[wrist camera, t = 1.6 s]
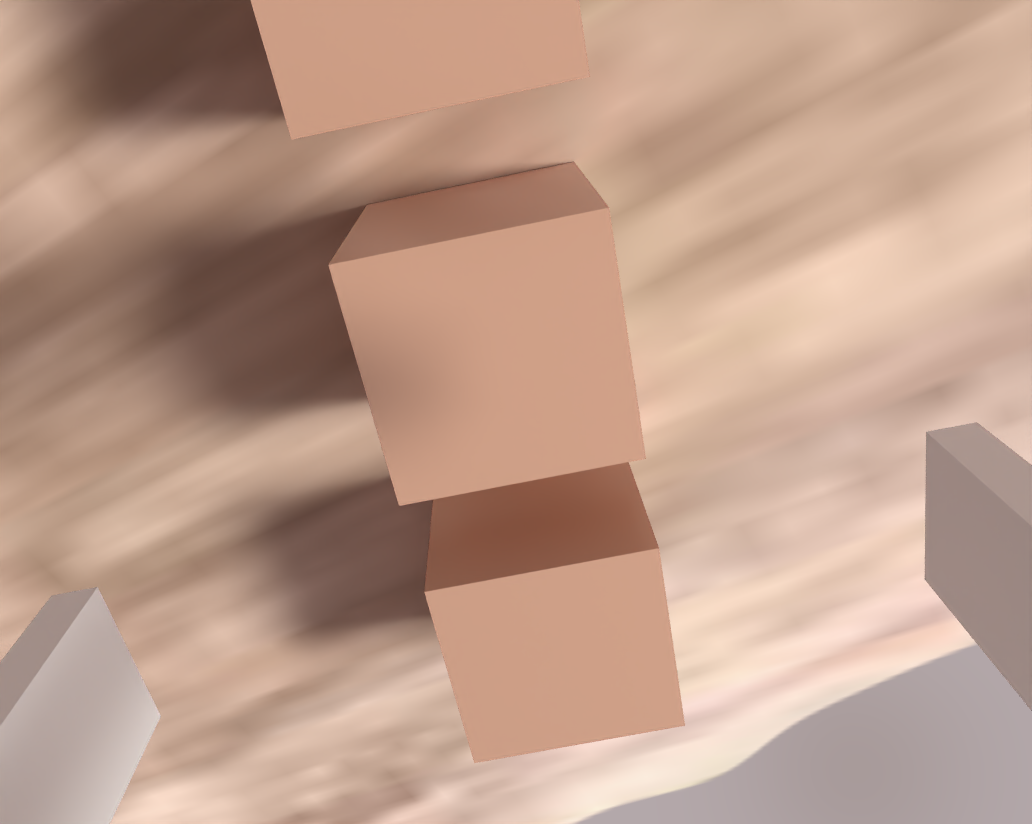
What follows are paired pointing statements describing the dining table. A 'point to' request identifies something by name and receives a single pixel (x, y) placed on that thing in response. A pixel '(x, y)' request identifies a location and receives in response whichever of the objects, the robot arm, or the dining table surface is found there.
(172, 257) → the dining table surface
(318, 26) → the peach colored cube
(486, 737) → the salmon pink box
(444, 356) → the cover mid
